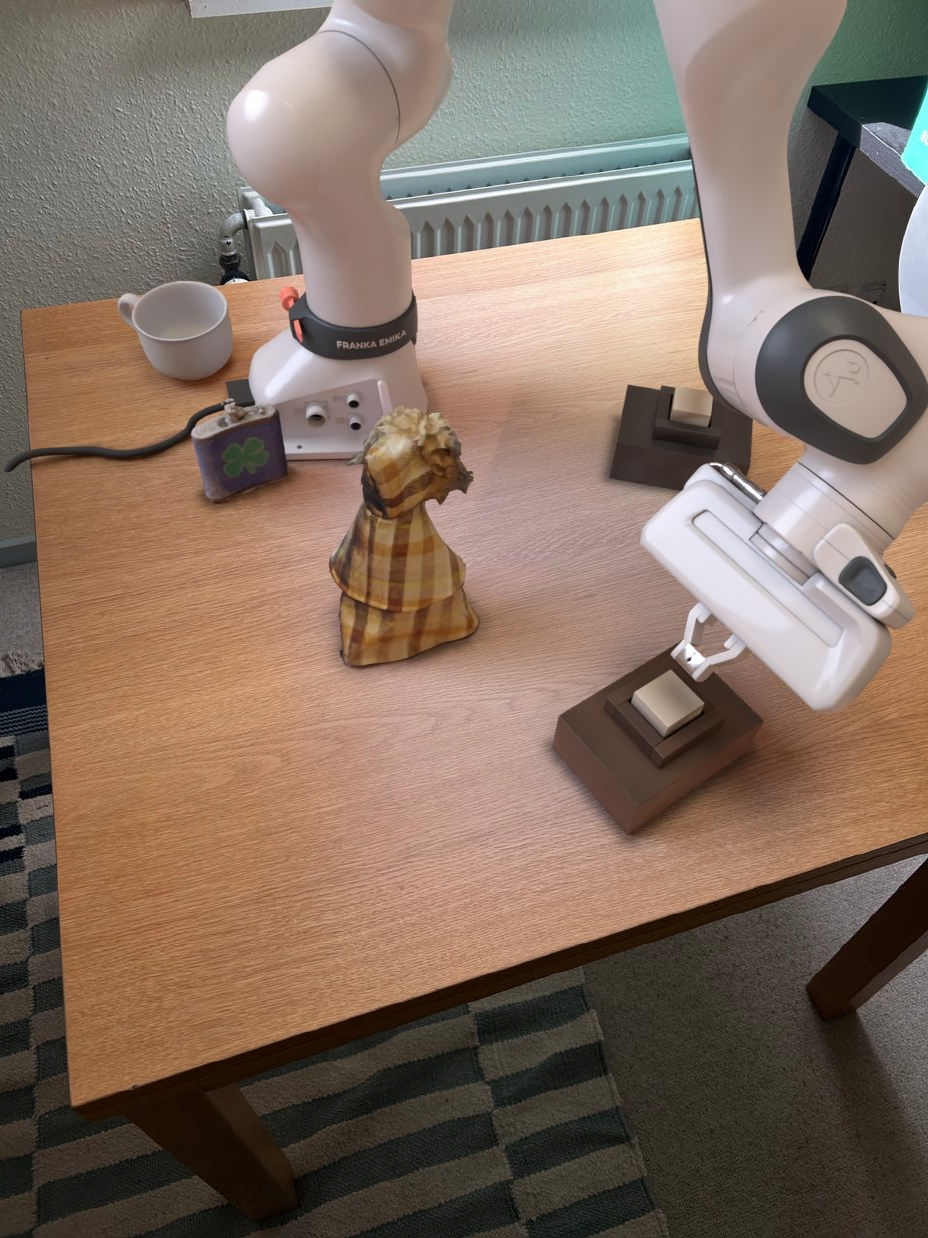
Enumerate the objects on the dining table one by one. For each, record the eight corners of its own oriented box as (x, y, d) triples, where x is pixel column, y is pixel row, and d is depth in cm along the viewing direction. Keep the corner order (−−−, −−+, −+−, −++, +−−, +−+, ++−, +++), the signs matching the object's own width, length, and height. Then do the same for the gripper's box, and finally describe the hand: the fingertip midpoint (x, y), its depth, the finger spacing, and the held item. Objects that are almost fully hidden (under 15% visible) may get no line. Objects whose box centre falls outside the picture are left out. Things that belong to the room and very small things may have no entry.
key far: (669, 422, 97) (672, 408, 95) (672, 398, 99) (676, 385, 98) (707, 428, 96) (711, 415, 95) (709, 404, 99) (713, 391, 97)
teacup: (257, 358, 112) (247, 300, 105) (196, 405, 106) (181, 347, 100) (172, 319, 116) (157, 261, 110) (109, 363, 110) (89, 304, 104)
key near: (663, 739, 73) (668, 727, 72) (630, 703, 75) (634, 692, 74) (699, 715, 75) (704, 703, 73) (666, 681, 77) (670, 669, 75)
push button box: (627, 835, 75) (642, 796, 69) (551, 746, 80) (560, 703, 74) (747, 751, 80) (771, 709, 75) (669, 673, 85) (686, 627, 80)
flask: (211, 506, 96) (191, 427, 88) (201, 489, 98) (180, 409, 89) (292, 477, 99) (280, 398, 91) (281, 461, 101) (268, 381, 92)
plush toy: (304, 560, 91) (299, 395, 69) (433, 528, 94) (468, 361, 72) (347, 685, 86) (356, 551, 63) (482, 646, 89) (535, 506, 67)
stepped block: (608, 478, 101) (619, 428, 95) (620, 420, 107) (630, 370, 101) (737, 501, 99) (755, 452, 94) (741, 441, 105) (758, 392, 100)
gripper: (701, 438, 69) (582, 575, 73) (919, 618, 59) (767, 766, 63) (729, 460, 74) (616, 587, 78) (934, 630, 64) (792, 766, 68)
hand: (685, 669), depth 71 cm, fingers closed
